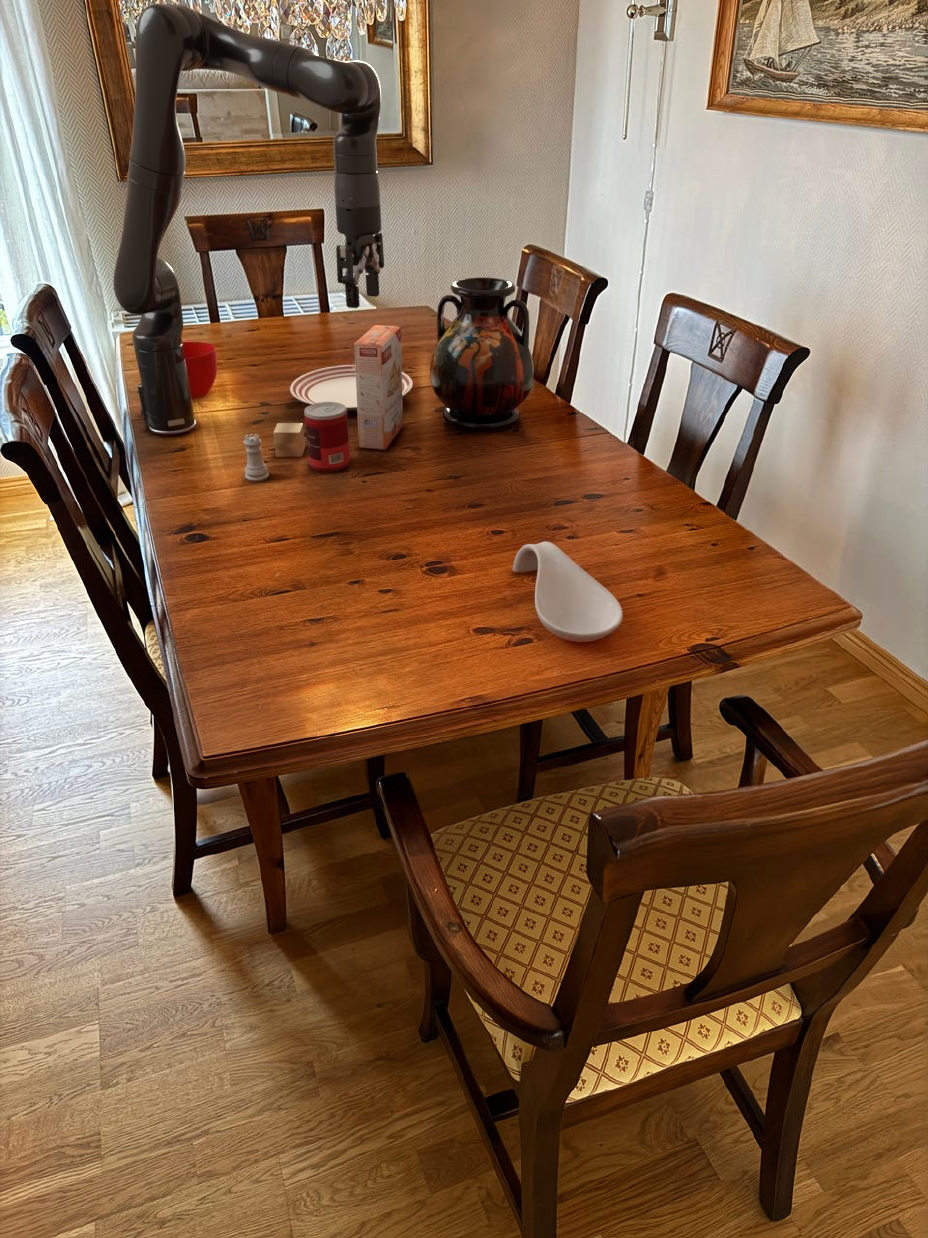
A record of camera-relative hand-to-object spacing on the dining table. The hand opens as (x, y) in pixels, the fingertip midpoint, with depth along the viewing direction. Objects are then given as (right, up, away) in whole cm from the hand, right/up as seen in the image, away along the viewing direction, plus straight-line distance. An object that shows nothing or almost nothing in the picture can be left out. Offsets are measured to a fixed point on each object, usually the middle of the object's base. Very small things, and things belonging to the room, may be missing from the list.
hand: (363, 301), depth 159 cm
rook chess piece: (-20, -30, +8) cm, 37 cm away
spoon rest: (+31, -55, -30) cm, 70 cm away
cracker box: (+1, -19, +24) cm, 31 cm away
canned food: (-8, -27, +13) cm, 31 cm away
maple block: (-16, -23, +18) cm, 34 cm away
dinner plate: (-7, -6, +45) cm, 46 cm away
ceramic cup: (-44, -4, +48) cm, 65 cm away
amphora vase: (+22, -14, +33) cm, 42 cm away
